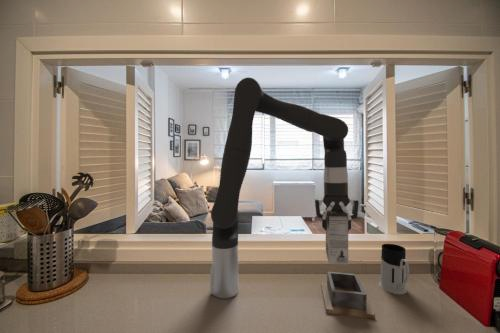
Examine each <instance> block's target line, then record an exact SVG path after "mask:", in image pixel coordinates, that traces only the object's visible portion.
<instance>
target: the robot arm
mask: <svg viewBox="0 0 500 333" xmlns="http://www.w3.org/2000/svg"><path fill="white" fill-rule="evenodd" d="M232 106H233V107H232V113H231V114H232V116H231V119H230V124H229V128H228V132H227V135H226V141H225V145H224V149H223V153H222V159H221V166H220V174H219V184H218V190H217V193H216V196H215V199H214V203H213V206H212V208H211V211H210V218H211V221H212V236H211V259H212V260H211V262H212V264H211V266H210V268H209V270H210V271H209V273H210V274H209V276H210V279H209V280H210V281H209V282H210V283H209V284H210V285H209V286H210V287H209V288H210V289H209V290H210V291H209V292H210V295H212V296H214V297H215V298H218V299H222V300H224V299H225V300H227V299H231V298H233V297H235V296H237V295H238V293H239V201H240V193H241V190H242V185H243V182H244V180H245V176H246V174H247V170H248V167H249V162H250V158H251V153H252V147H253V124H254V123H253V122H254V118H255V113H261V114H265V115H267V116H270V117H273V118H277V119H278V120H281V121H283V122H285V123H287V124H289V125H291V126H295V127H296V128H299V129H302V130H304V131H306V132H309V133H315V134H317V135H320V136H321V137H322V141H323V151H324V157H323V159H324V163H323V164H324V170H323V198H320V199H319V198H315V199H314V207H315V214H316V217H317V218H319V219H321V227H322V229H323V230H324V231H325V230H327V220H326V218H327V213H330V211H340V212H342V211H343V212H344V213H347V215H348V232H349V231H350V230H351V229H352V220H354V219H358V214H359V204H360V202H359V200H358V199H357V198H354V199H351V198H350V199H349V179H348V178H349V177H348V176H349V175H348V164H347V163H348V158H347V157H348V155H347V151H346V150H345V138H346V137H347V135H348V133H349V126H348V124H347V123H346V122H345V121H344V120H342V119H340V118H338V117H335V116H331V115H328V114H325V113H320V112H318V111H316V110H313V109H312V108H308V107H306V106H303V105H301V104H298V103H295V102H289V101H284V100H281V99H277V98H275V97H273V96H272V95H270V94H267V93H266V92H264V91H263V89H262V86H261V84H260V83H259V81H258V80H256V79H255V78H254V77H244V78H242V79H241V80H240V81H238V83H237V84H236V86H235V88H234V94H233V104H232ZM322 203H323V204H324V205H325V208H324V210H323V212H322V213H321V207H320V206H322ZM349 204H350V205H351V206H352V208H351V213H350V212H349V211H348V209H347V206H348V205H349Z"/></svg>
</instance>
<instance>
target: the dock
mask: <svg viewBox="0 0 500 333" xmlns="http://www.w3.org/2000/svg"><path fill="white" fill-rule="evenodd" d="M326 279H327V280H326V282H320V288H321V293H322V297H323V298H322V299H323V304H324V310H325V314H333V315H334V314H335V315H339V316H340V315H342V316H349V317H356V318H358V317H359V318H365V319H366V318H367V319H373V320H374V319H376V314H375V312H374V310H373V308H372V305H371V304H370V301H369V300H368V297H367V293H366V291H365V288H364V287H363V285H362V282H361V280H360V278H359V276H358V275H357V274H356V273H348V272H347V273H346V272H337V271H334V272H333V271H327V272H326Z"/></svg>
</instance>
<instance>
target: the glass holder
mask: <svg viewBox="0 0 500 333" xmlns="http://www.w3.org/2000/svg"><path fill="white" fill-rule="evenodd" d="M406 253H407V252H406V248H405V247H404V246H401V245H398V244H393V243H384V244H382V245H381V256H380V281H379V283H378V285H379V287H380V288H381V289H382V290H384V291H385V292H388V293H390V294H395V295H405V294H407V292H408V290H407V288H406V283H407V282H408V280H409V278H410V277H409V276H410V264H409V262H408V260H407V259H406Z"/></svg>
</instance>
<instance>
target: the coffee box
mask: <svg viewBox="0 0 500 333" xmlns="http://www.w3.org/2000/svg"><path fill="white" fill-rule="evenodd" d="M326 220H327V230H324V231H325V254H326V259H327V262H328V264H330V265H334V264H335V265H349V231H348V215H347V213H344V212H343V211H342V212H340V211H330V213H327V218H326Z"/></svg>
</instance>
